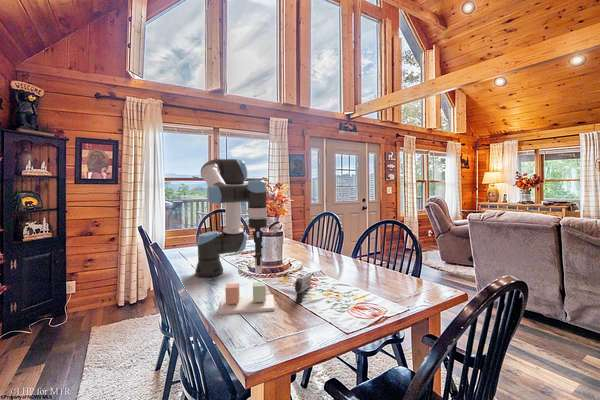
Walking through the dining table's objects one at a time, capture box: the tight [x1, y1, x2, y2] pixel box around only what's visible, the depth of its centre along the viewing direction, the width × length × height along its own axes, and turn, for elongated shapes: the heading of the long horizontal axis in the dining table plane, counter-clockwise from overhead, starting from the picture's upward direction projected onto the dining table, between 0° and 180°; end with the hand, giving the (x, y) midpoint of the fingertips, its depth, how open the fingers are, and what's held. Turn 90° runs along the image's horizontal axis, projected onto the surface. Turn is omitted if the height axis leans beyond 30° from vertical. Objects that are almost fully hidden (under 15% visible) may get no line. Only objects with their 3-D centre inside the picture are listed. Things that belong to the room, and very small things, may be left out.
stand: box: [218, 282, 276, 315], centre depth 126 cm, size 14×22×9 cm, turn 98°
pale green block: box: [252, 281, 267, 302], centre depth 126 cm, size 5×5×7 cm
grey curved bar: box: [294, 273, 312, 304], centre depth 137 cm, size 2×25×10 cm, turn 167°
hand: (258, 268), depth 126 cm, fingers open, 13 cm apart
